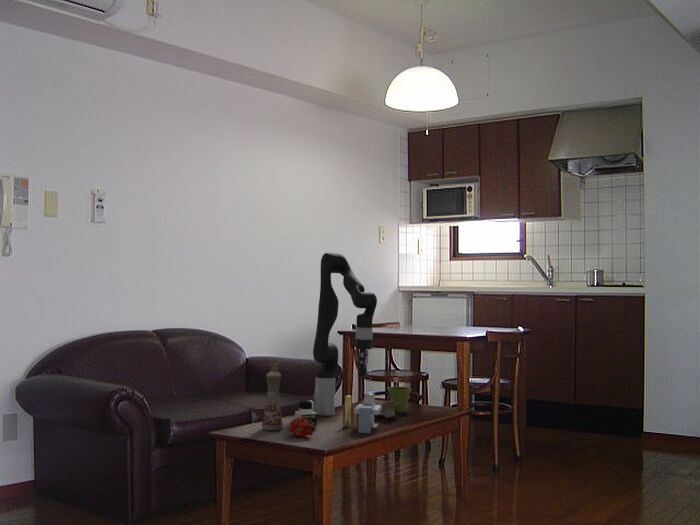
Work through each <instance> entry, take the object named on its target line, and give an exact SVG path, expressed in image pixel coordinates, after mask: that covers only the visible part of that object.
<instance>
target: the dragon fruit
mask: <svg viewBox="0 0 700 525" xmlns="http://www.w3.org/2000/svg"><path fill="white" fill-rule="evenodd" d="M287 430H288V431H289V432H290V433H292V435H293V437H300V438H302V439H307V438H309V437H308V436H313V434H314V432H315V431H316V430H315V428H314V426H313V425H312V423H311V422H310V421H308V420H306V419H305V418H303V417H302V418H299V417H297V418H295V417H294V418H293V419H292V420H291V421H290V422H289V426H288V428H287Z"/></svg>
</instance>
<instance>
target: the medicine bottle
mask: <svg viewBox="0 0 700 525" xmlns="http://www.w3.org/2000/svg"><path fill="white" fill-rule="evenodd" d="M297 417H299V418H302V417H303V418H305V419H306V420H308V421H310V422H311V423H312V425H313V426H314V428H315V431H316V430H317V429H318V426H317V425H318V415H317V413H315V412H314V400H311V399H301V400H299V403H298V410H296V411H294V418H297Z"/></svg>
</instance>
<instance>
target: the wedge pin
mask: <svg viewBox="0 0 700 525" xmlns="http://www.w3.org/2000/svg"><path fill="white" fill-rule="evenodd" d="M344 397H345V398H344V399H345V402H344V427H347V428H349V427H352V421H351V420H352V395H345V396H344Z"/></svg>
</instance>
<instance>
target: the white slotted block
mask: <svg viewBox="0 0 700 525" xmlns="http://www.w3.org/2000/svg"><path fill="white" fill-rule="evenodd" d="M401 402H403V401H399V402H395V401H390V399H389V400H388V401H386V402H383V403H381V404H380V405H382V410H381V411H380V413H382V415H383V416H384V417H385V418H386V419H389V418H390V419H391V418H393V417H394V416H396V412H394V409H393V406H395V405H397V404H399V403H401Z"/></svg>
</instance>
